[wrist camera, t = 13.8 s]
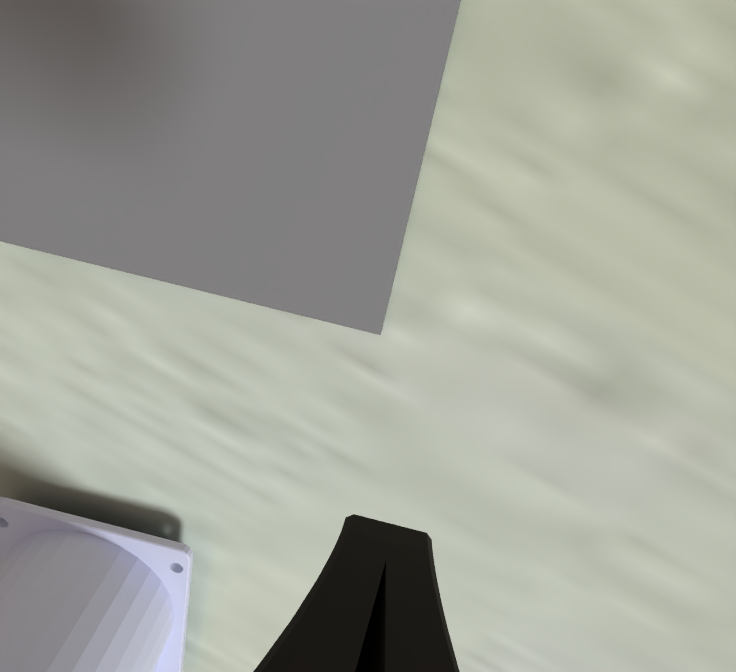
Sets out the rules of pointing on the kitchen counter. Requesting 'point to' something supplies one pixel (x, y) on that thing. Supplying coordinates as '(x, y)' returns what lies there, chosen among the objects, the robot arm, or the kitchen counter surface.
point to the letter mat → (223, 141)
